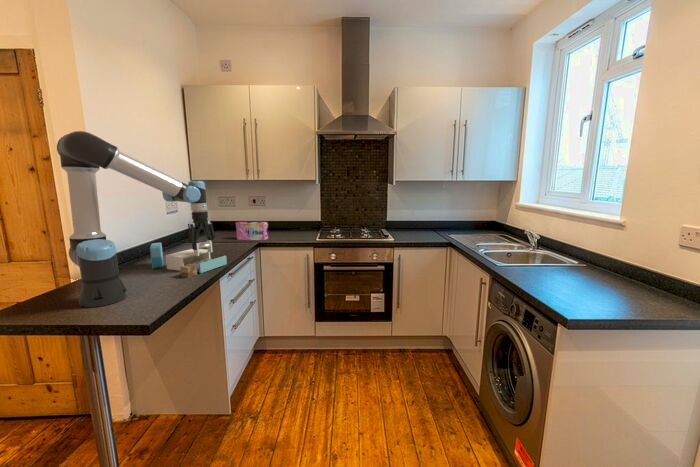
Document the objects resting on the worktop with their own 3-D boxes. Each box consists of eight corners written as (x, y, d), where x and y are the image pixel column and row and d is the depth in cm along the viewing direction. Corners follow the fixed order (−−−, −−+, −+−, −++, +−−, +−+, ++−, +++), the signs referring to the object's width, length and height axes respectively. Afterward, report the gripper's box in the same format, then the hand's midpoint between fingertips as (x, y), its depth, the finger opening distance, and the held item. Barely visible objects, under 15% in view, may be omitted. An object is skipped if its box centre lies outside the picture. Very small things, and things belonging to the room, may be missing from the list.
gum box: (270, 238, 245) (269, 221, 243) (266, 240, 237) (265, 222, 235) (241, 237, 248) (240, 221, 245) (236, 239, 240) (235, 222, 237)
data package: (159, 246, 164) (161, 242, 174) (149, 247, 162) (151, 242, 172) (162, 268, 166) (163, 262, 176) (152, 269, 164) (154, 263, 174)
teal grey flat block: (226, 264, 171) (226, 255, 171) (200, 273, 156) (199, 263, 155) (209, 261, 176) (209, 253, 175) (182, 270, 160) (181, 261, 159)
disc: (191, 247, 162) (190, 244, 162) (203, 244, 169) (203, 241, 169) (202, 248, 159) (202, 245, 159) (214, 245, 166) (214, 242, 166)
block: (188, 277, 150) (187, 267, 149) (181, 276, 152) (180, 266, 151) (197, 274, 154) (196, 265, 153) (189, 273, 156) (188, 264, 155)
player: (210, 262, 176) (209, 250, 175) (183, 271, 160) (181, 257, 159) (195, 260, 181) (194, 248, 180) (166, 268, 165) (165, 255, 163)
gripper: (187, 213, 150) (192, 259, 154) (220, 209, 169) (223, 250, 173) (176, 213, 153) (181, 257, 157) (209, 208, 172) (213, 248, 176)
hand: (203, 253), depth 165 cm, fingers closed on disc, 8 cm apart
